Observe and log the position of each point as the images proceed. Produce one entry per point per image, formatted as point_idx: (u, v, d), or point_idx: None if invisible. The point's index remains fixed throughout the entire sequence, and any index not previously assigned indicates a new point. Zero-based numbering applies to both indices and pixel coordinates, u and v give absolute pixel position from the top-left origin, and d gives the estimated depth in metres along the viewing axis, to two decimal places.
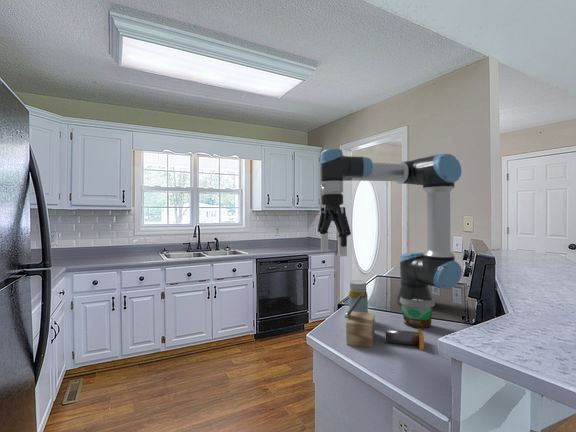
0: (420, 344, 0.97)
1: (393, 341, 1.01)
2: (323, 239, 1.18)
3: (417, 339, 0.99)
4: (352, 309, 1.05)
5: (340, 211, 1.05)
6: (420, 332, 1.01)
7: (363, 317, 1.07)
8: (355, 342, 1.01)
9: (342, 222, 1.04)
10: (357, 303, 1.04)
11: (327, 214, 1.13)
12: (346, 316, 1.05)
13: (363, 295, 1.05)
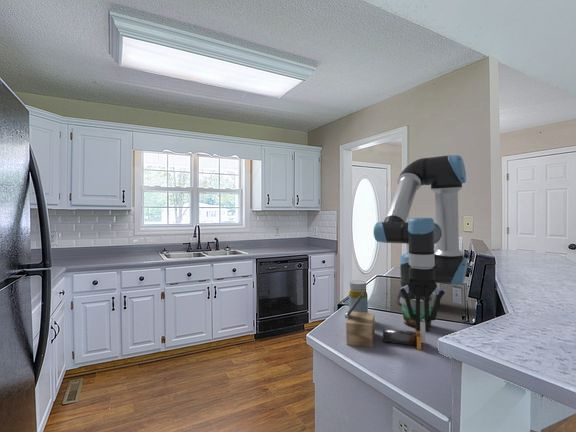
0: (417, 344, 0.97)
1: (390, 341, 1.02)
2: None
3: (414, 339, 0.99)
4: (352, 309, 1.05)
5: None
6: (417, 331, 1.01)
7: (363, 317, 1.07)
8: (355, 342, 1.01)
9: None
10: (357, 303, 1.04)
11: None
12: (346, 316, 1.05)
13: (363, 295, 1.05)
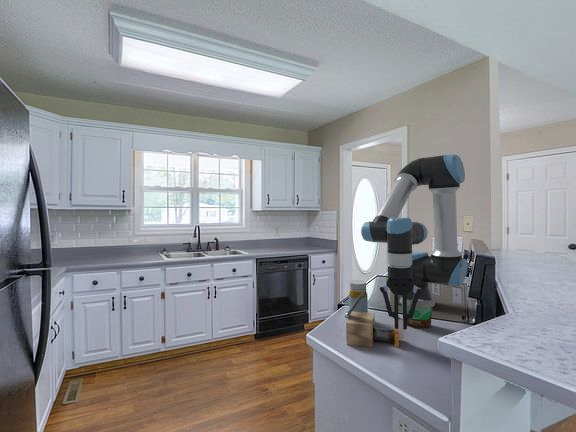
0: (395, 341, 0.99)
1: None
2: None
3: (393, 336, 1.01)
4: (352, 309, 1.05)
5: None
6: (396, 329, 1.03)
7: (363, 317, 1.07)
8: (355, 342, 1.01)
9: None
10: (357, 303, 1.04)
11: None
12: (346, 316, 1.05)
13: (363, 295, 1.05)
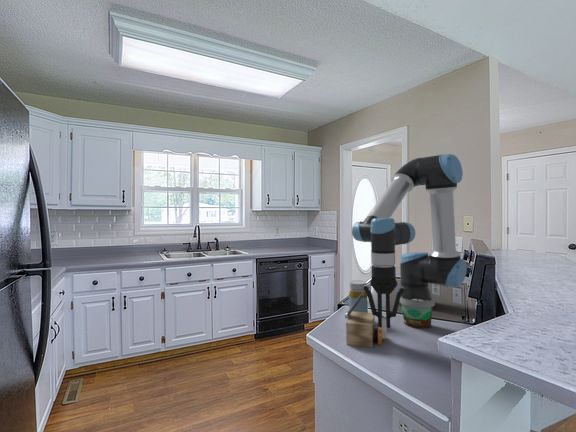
0: (378, 339, 1.01)
1: None
2: None
3: (376, 334, 1.03)
4: (352, 309, 1.05)
5: None
6: (379, 328, 1.05)
7: (363, 317, 1.07)
8: (355, 342, 1.01)
9: None
10: (357, 303, 1.04)
11: None
12: (346, 316, 1.05)
13: (363, 295, 1.05)
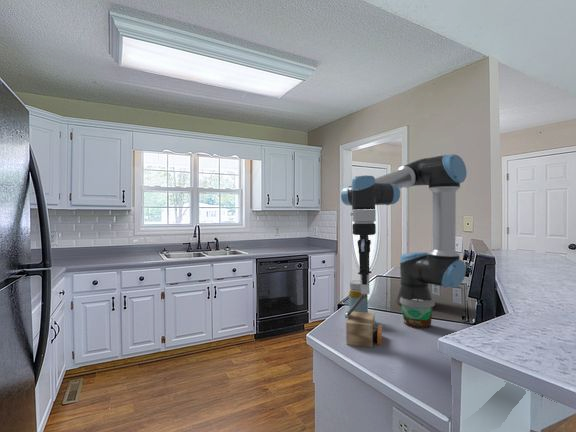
0: (378, 339, 1.01)
1: None
2: None
3: (376, 335, 1.03)
4: (352, 309, 1.05)
5: (360, 250, 1.00)
6: (379, 328, 1.05)
7: (363, 317, 1.07)
8: (355, 342, 1.01)
9: (360, 262, 1.01)
10: (358, 303, 1.04)
11: None
12: (346, 316, 1.05)
13: (364, 296, 1.05)
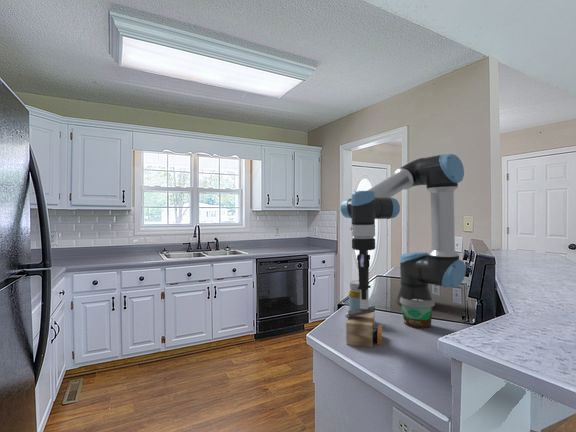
0: (378, 339, 1.01)
1: None
2: None
3: (376, 335, 1.03)
4: (356, 314, 1.05)
5: (359, 266, 1.00)
6: (379, 328, 1.05)
7: (363, 317, 1.07)
8: (355, 342, 1.01)
9: (360, 277, 1.01)
10: (364, 313, 1.04)
11: None
12: (347, 316, 1.05)
13: (374, 310, 1.04)
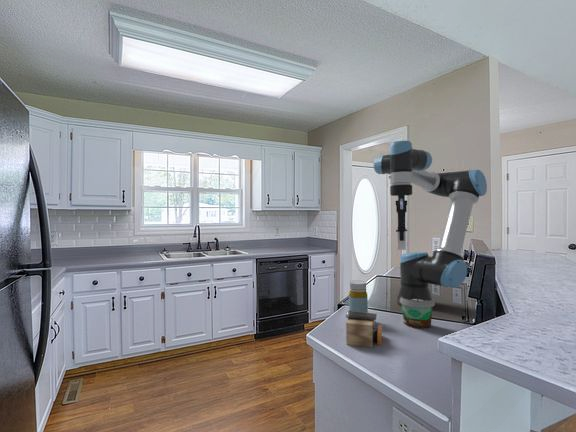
0: (378, 339, 1.01)
1: None
2: None
3: (376, 335, 1.03)
4: (357, 317, 1.05)
5: (399, 208, 1.10)
6: (379, 328, 1.05)
7: None
8: (355, 342, 1.01)
9: (399, 219, 1.11)
10: (365, 318, 1.04)
11: None
12: (347, 316, 1.05)
13: (375, 319, 1.04)
